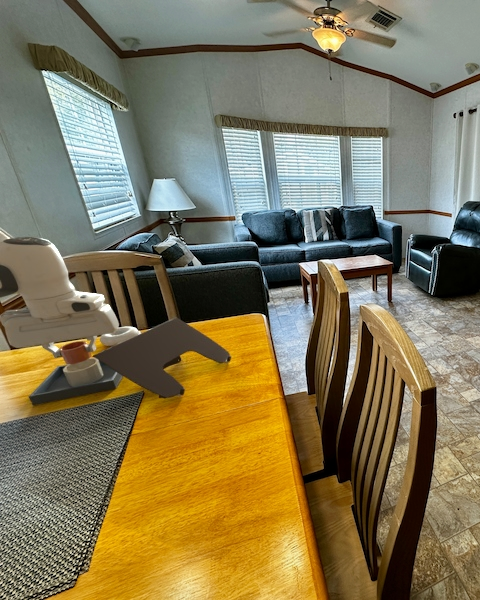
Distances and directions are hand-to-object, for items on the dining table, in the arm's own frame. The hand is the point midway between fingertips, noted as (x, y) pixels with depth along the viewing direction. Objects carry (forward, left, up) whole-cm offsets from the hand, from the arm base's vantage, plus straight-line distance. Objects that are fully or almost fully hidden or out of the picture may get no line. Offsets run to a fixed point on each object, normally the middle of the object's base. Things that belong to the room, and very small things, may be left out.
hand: (76, 353), depth 84 cm
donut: (+1, +24, -9) cm, 26 cm away
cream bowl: (0, 0, -8) cm, 8 cm away
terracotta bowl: (0, 0, -2) cm, 2 cm away
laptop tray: (+22, -6, -9) cm, 24 cm away
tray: (0, 0, -9) cm, 9 cm away
